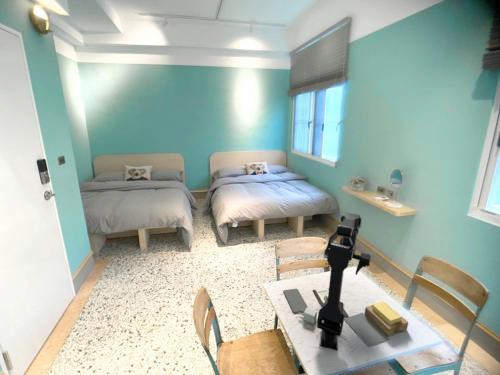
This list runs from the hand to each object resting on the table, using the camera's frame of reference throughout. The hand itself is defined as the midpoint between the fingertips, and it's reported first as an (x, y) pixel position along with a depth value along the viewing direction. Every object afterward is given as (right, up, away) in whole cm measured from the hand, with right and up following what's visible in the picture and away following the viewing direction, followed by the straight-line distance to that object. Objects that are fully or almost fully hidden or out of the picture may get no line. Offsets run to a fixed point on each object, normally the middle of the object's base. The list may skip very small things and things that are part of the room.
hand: (345, 271), depth 115 cm
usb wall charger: (-19, -17, -8) cm, 27 cm away
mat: (+3, -19, -13) cm, 23 cm away
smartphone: (-22, -15, +2) cm, 27 cm away
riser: (+13, -18, -10) cm, 24 cm away
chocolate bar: (-7, -15, 0) cm, 17 cm away
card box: (+13, -14, -11) cm, 22 cm away
